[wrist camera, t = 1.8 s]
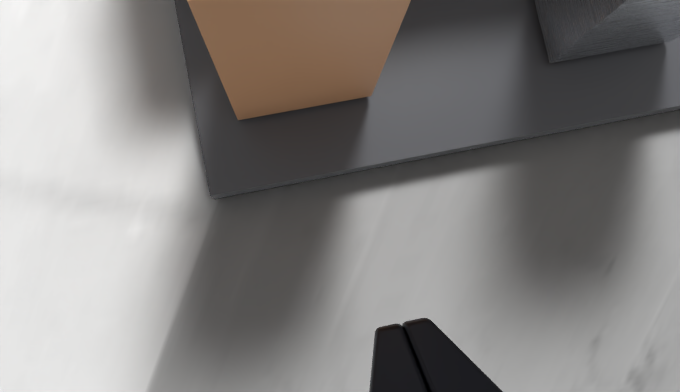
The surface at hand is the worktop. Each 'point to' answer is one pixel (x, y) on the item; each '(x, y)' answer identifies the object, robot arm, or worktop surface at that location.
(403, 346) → the robot arm
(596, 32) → the light grey block
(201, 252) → the worktop surface
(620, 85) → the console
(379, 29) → the tan rectangular block
